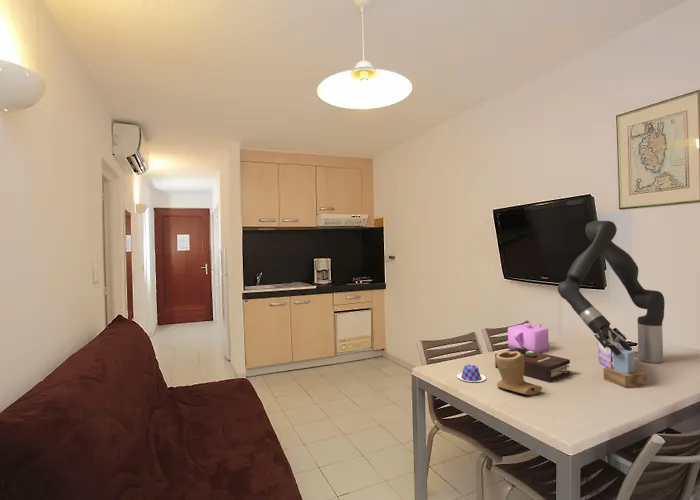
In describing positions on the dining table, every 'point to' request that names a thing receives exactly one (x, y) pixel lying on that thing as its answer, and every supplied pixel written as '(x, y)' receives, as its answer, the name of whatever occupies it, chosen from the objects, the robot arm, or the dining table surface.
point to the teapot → (528, 337)
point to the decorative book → (542, 365)
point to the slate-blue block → (624, 361)
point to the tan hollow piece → (514, 373)
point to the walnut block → (625, 378)
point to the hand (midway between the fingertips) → (624, 352)
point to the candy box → (607, 354)
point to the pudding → (471, 374)
